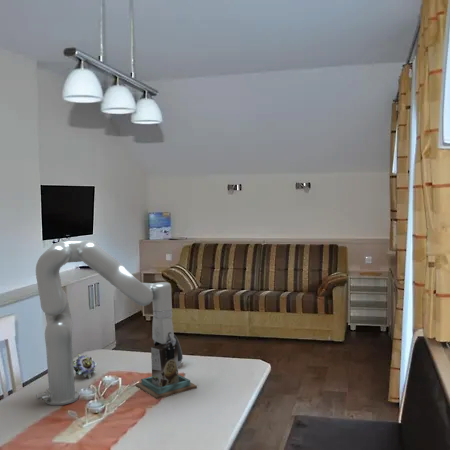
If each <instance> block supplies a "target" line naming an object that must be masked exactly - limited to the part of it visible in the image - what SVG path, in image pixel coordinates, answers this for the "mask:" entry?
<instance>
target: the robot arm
mask: <svg viewBox="0 0 450 450" xmlns="http://www.w3.org/2000/svg"><path fill="white" fill-rule="evenodd" d="M80 262H83V264H85V265H87V266H88V267H89V268H90V269H92V270H93V271H95V272H96V273H97V274H98V275H100V276H101V278H104V279H105V280H106V281H107V282H108V283H109V284H110V285H112V286H113V287H115V288H116V289H117V290H119V291H120V292H121V293H122V294H123V295H124V296H126V297H127V298H129V299H130V300H131V301H132V302H134V303H135V304H136V305H138V306H141V307H144V306H145V307H146V306H148V305H150V304H151V303H152V314H153V315H152V316H153V317H152V325H151V327H152V328H151V329H152V331H151V333H152V340H153V344H154V346H157V345H160V344H166V347H167V349H166V353H167V359H168V360H169V359H173V358H174V348H175V343H176V339H175V338H174V335H175V334H174V332H175V331H174V324H173V305H172V304H173V303H172V302H173V301H172V299H173V298H172V286H171V283H170V282H162V281H160V282H153V283H152V282H151V283H150V282H141V281H140V280H139V278H136V277H135V276H134V275H133V274H132V273H131V272H130V271H129V270H128V268H126V267H125V265H124V264H123V263H121V261H119V260H118V259H116V258H115V257H114V256H113V255H111V254H110V253H109V252H108V251H106V250H105V249H104V248H102V247H101V246H100V244H99V243H98V242H97V241H95V240H92V239H86V240H85V239H84V240H83V239H82V240H72V241H71V240H70V241H58V242H55V243H53V244H52V245H51V246H50V247H48V249H47V250H45V251H44V252H43V253H42V254H41V255H40V256H39V258H38V260H37V262H36V266H35V276H36V283H37V289H38V296H39V301H40V308H41V310H42V313H44V316H45V320H46V326H45V328H44V329H45V330H44V341H45V349H46V364H47V378H48V379H47V381H48V383H47V384H48V388H46V391H44V392H42V393H37V394H35V399H36V400H38V401H39V400H42V401H44V402H45V403H46V404H47V405H50V406H65V405H68V404H72V403H75V402H76V401H78V399H79V398H80V393H79V392H78V391H76V388H75V387H76V385H75V370H74V367H73V365H74V364H73V361H74V356H73V355H74V354H73V352H74V351H73V340H72V339H73V338H72V337H73V335H72V330H73V320H72V315H71V309H70V304H69V299H68V295H67V293H66V292H65V290H64V289H63V286H62V281H61V275H60V270H61V268H62V267H63V266H65V265H66V264H67V263H80ZM167 341H168V342H167ZM170 343H171V344H170ZM168 344H170V345H168Z"/></svg>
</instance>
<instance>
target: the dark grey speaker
mask: <svg viewBox="0 0 450 450" xmlns="http://www.w3.org/2000/svg"><path fill="white" fill-rule="evenodd" d="M174 338H175V339H176V343H175V344H177V351H178V367H180V366H181V364H182V361H183V359H184V358H183V357H184V356H183V351H182V347H181V345H180V344H181V343H180V341H179V339H178V337H177V336H176V334H174ZM167 342H168V341H167Z"/></svg>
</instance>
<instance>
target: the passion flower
mask: <svg viewBox="0 0 450 450" xmlns="http://www.w3.org/2000/svg"><path fill="white" fill-rule="evenodd" d="M97 365H98V363H97V362H96V361H94V358H92V357H91V356H90V357H89V355H88V354H85V355H81V353H77V359H76V360H73V367H74V372H75V374H76V376H80V375H81V376H82V378H84V379H85V378H88V379H89V378H90V379H91V378H92V373H93V374H96V373H97V371H96V370H95V369H96V367H97Z"/></svg>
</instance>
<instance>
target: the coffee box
mask: <svg viewBox="0 0 450 450" xmlns="http://www.w3.org/2000/svg"><path fill="white" fill-rule="evenodd" d="M170 344H171V343H170ZM170 344H168V345H170ZM150 348H151V349H150V350H151V351H150V352H151V353H150V354H151V357H150V358H151V376H152V383H153V384H154V385H156V386H158V387H159V388H160V387H164V386H167V385H171V384H175V383H178V382H179V377H178V374H179V366H178V351H177V344H175V348H174V358H173V359H169V360H168V359H167V353H166V349H167V347H166V344H160V345H157V346H155V345H154V346H152V347H150Z"/></svg>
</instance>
